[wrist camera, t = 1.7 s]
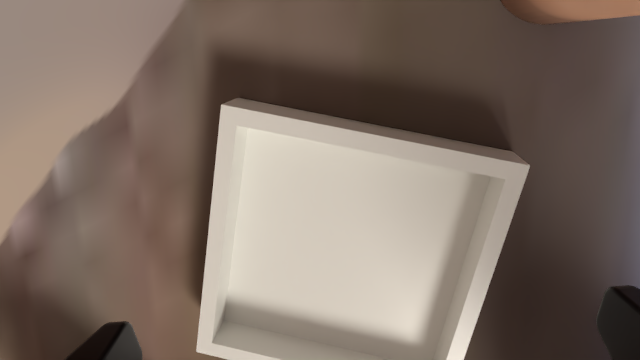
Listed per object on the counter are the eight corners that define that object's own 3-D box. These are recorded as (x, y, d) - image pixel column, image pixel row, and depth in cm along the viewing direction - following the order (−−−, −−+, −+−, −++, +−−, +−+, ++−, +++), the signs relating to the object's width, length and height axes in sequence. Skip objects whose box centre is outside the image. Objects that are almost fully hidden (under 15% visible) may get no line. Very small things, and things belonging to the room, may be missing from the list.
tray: (513, 151, 21) (530, 165, 18) (439, 376, 25) (445, 411, 23) (238, 97, 22) (221, 104, 19) (212, 323, 26) (196, 351, 24)
